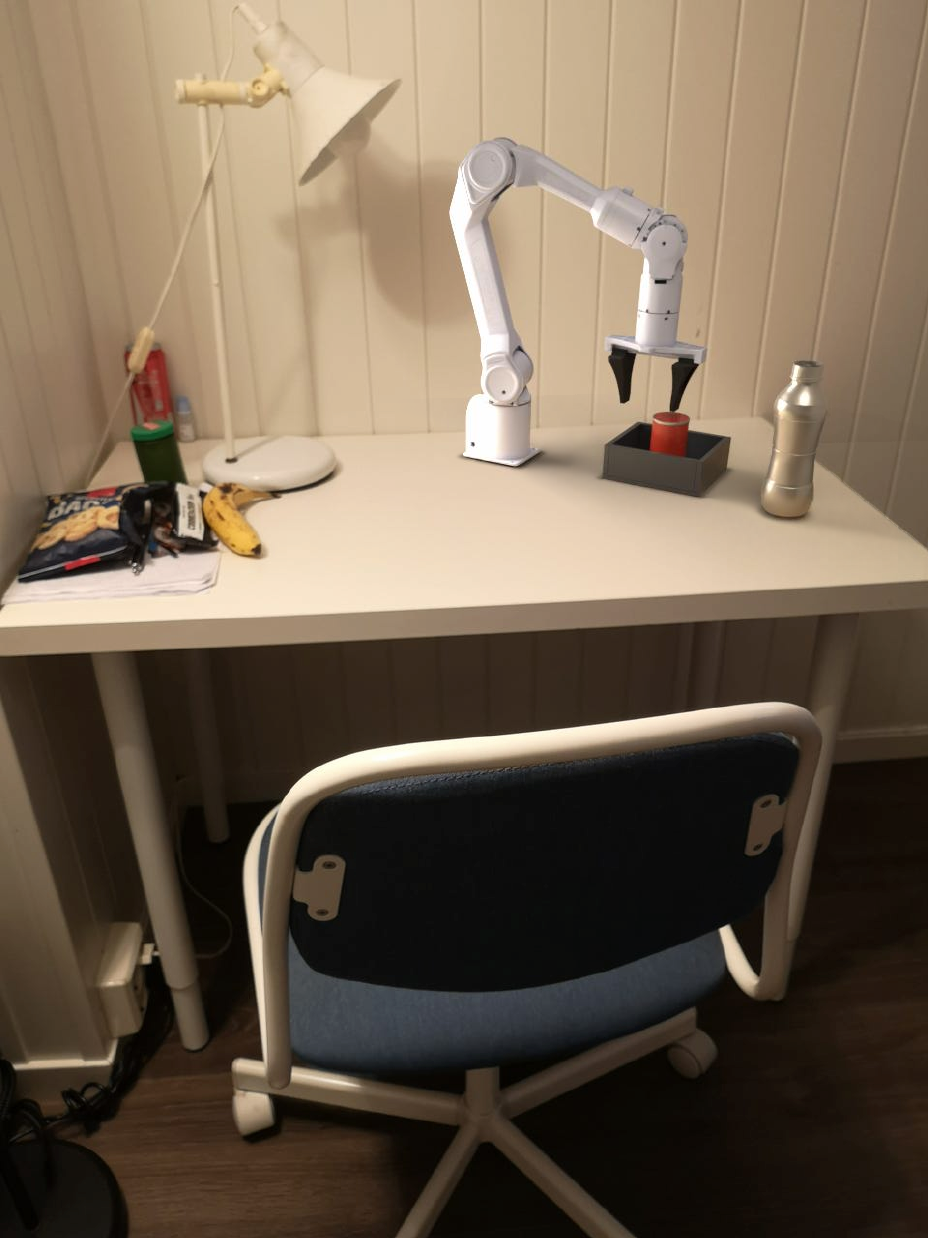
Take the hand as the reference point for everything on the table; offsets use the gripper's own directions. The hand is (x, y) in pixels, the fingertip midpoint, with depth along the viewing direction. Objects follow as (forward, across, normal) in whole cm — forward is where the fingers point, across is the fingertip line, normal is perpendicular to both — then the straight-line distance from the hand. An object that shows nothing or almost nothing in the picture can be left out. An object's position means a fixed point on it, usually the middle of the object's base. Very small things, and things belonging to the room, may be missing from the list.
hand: (649, 405), depth 142 cm
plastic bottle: (+9, +23, -7) cm, 26 cm away
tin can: (+9, +4, -1) cm, 10 cm away
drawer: (+9, +4, -1) cm, 10 cm away
